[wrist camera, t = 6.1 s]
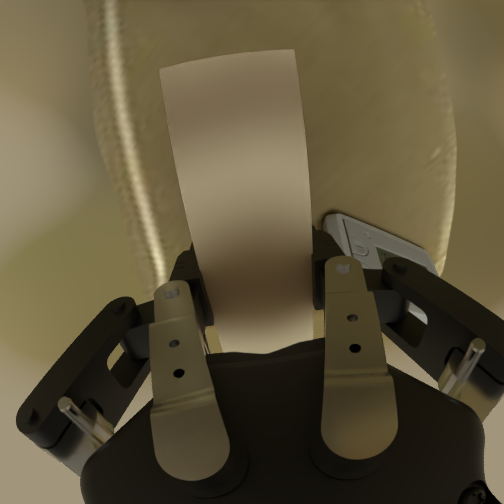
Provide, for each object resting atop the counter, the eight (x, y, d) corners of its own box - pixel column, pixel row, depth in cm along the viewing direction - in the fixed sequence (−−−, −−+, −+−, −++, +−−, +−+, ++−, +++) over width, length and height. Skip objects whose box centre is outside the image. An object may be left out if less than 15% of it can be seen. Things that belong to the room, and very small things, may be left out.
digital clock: (428, 253, 30) (476, 301, 21) (386, 304, 34) (422, 360, 24) (343, 183, 26) (397, 224, 16) (294, 253, 29) (319, 320, 20)
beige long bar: (183, 83, 10) (159, 68, 6) (275, 70, 10) (294, 49, 6) (239, 353, 17) (240, 403, 14) (298, 345, 17) (310, 394, 14)
